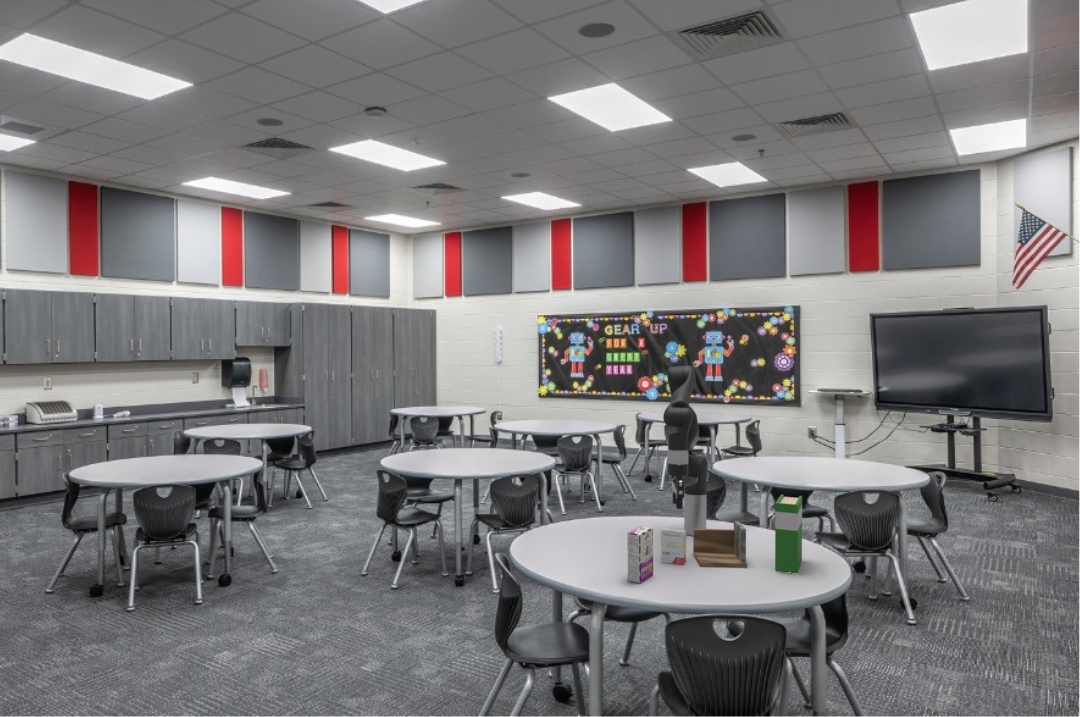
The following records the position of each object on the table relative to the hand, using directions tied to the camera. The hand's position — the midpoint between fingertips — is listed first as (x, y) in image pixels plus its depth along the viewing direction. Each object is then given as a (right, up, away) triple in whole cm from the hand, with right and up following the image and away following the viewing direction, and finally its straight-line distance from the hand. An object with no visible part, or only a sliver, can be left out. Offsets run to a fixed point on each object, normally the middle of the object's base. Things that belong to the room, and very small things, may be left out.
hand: (677, 506), depth 252 cm
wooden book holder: (+16, -21, +2) cm, 26 cm away
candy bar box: (-16, -21, -19) cm, 32 cm away
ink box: (-1, -21, 0) cm, 21 cm away
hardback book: (+40, -21, -4) cm, 45 cm away
